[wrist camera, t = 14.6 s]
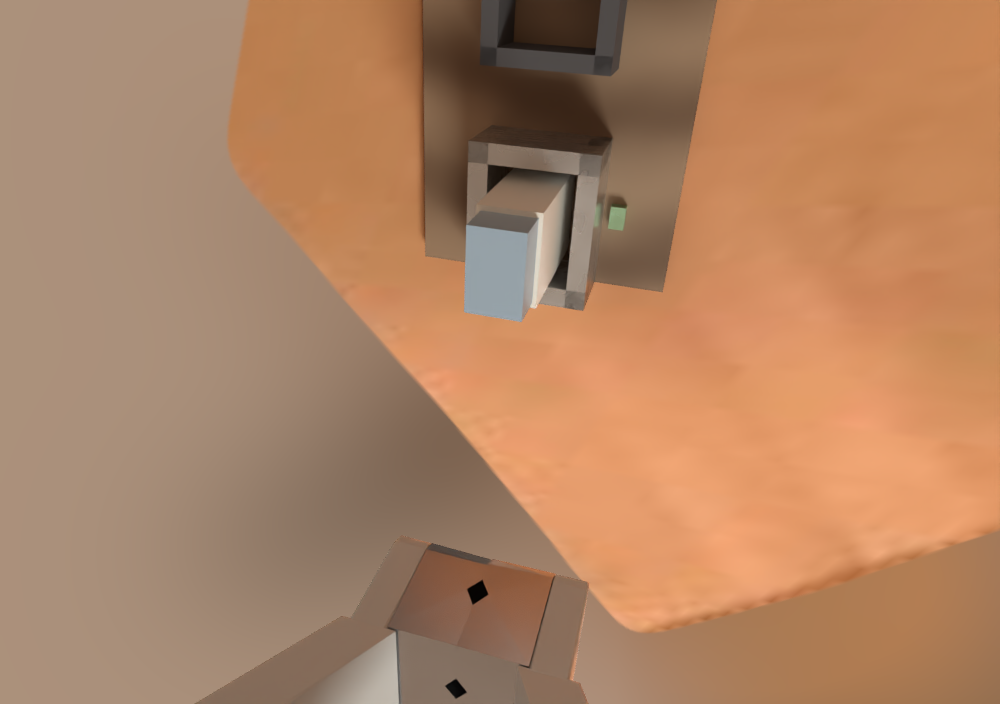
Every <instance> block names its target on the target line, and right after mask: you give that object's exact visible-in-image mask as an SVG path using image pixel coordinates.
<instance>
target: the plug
mask: <svg viewBox="0 0 1000 704" xmlns="http://www.w3.org/2000/svg"><path fill="white" fill-rule="evenodd" d="M574 185H575V175H573V174H565V173H557V172H548V171H540V170H531V169H523V168H513V169H512V170H511V171H510V172H509V173H508V174H507V175H506V176H505V177H504V178H503V179H502V180H501V181H500V182H499V183H498V184H497V185H496V186H495V187H494V188H493V189H492V190H491V191H490V192H489V193H488V194H486V195H485V196H484V197H483V198H482V199H481V200H480V201H479V202H478V203H477V204H476V216H475V217H474V218H473V219H472V220H471V221H470V222H469V223H468V224H467V225H466V258H465V303H464V312H466V313H472V314H478V315H484V316H490V317H495V318H501V319H507V320H513V321H519V322H522V320H523V319H524V317H525V315H526V313H527V311H528V309H529V308H537V306H538V304H539V302H540V300H541V298H542V296H543V294H544V293H545V291H546V289H547V287H548V285H549V283H550V281H551V279H552V277H553V276H554V274H555V272H556V270H557V268H558V266H559V264H560V262H561V261H562V259H563V257H564V255H565V253H566V251H567V249H568V242H569V233H570V223H571V214H572V204H573V194H574Z"/></svg>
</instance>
